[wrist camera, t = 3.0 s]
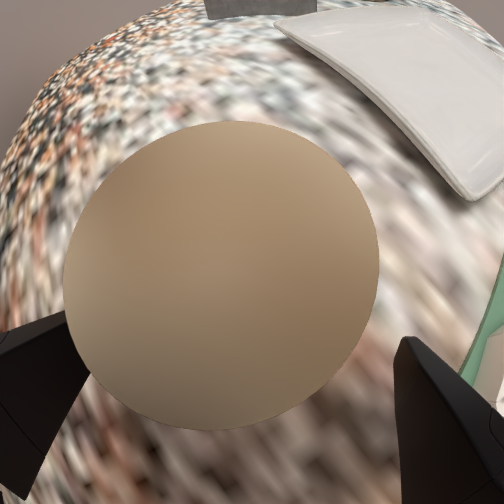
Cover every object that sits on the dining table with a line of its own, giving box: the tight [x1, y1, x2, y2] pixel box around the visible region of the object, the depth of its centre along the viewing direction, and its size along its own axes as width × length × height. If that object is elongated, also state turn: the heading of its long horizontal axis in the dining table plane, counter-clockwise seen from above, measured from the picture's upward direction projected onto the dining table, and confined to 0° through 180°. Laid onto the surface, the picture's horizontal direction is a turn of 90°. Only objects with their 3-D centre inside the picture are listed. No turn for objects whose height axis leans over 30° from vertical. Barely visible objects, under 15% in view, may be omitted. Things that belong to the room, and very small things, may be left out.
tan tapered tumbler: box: [63, 121, 379, 430], centre depth 10 cm, size 5×5×13 cm
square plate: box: [273, 6, 504, 202], centre depth 22 cm, size 27×27×4 cm
